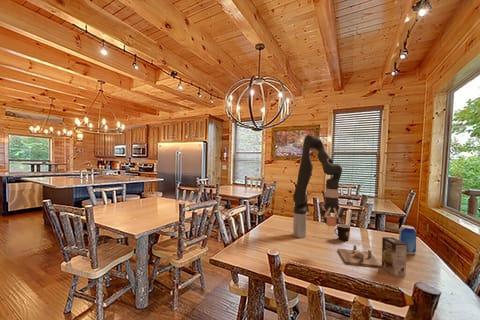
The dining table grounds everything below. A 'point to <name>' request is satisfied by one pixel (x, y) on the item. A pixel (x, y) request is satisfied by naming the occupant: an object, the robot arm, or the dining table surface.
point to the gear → (331, 221)
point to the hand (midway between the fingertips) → (330, 223)
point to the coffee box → (394, 256)
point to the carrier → (359, 257)
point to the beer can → (408, 238)
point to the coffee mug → (343, 232)
